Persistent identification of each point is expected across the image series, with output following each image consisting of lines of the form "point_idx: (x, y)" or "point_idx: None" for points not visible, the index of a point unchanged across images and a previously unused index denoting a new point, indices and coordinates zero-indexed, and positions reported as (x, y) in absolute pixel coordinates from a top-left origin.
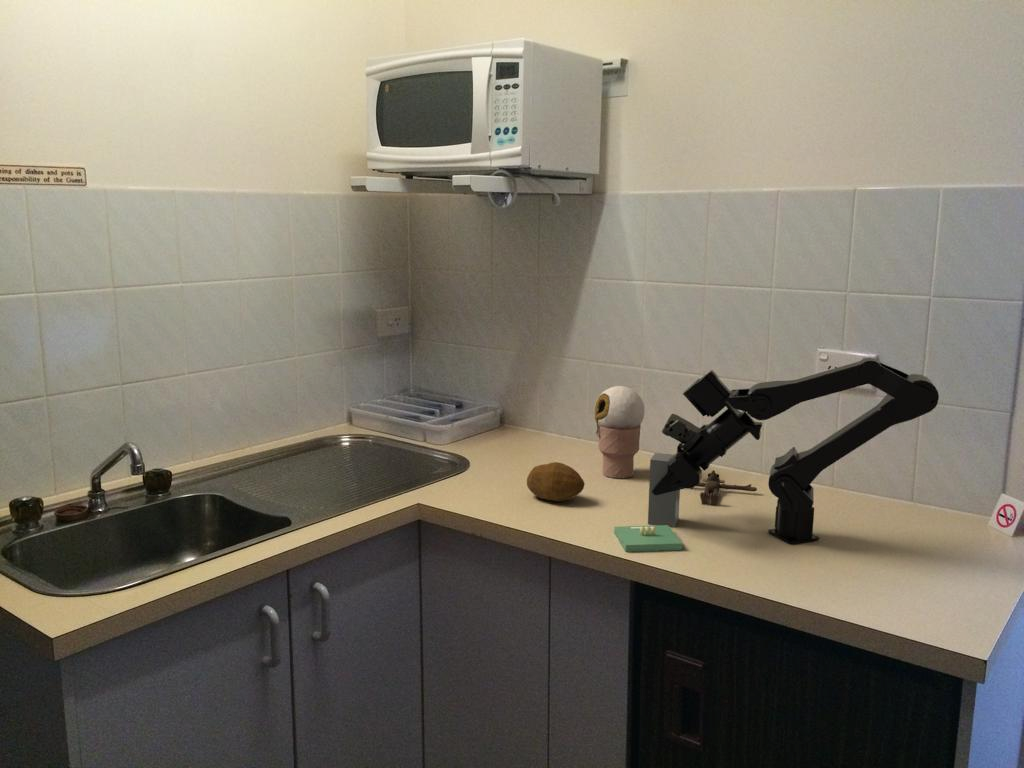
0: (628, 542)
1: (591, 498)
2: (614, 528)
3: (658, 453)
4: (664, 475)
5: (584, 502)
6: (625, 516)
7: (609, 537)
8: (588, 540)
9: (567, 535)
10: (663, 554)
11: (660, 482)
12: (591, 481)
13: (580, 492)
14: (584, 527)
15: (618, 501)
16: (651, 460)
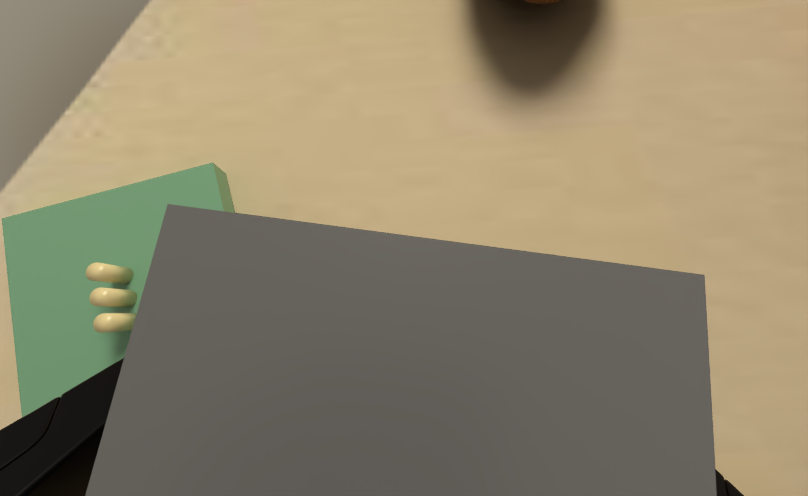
0: (31, 227)
1: (584, 72)
2: (209, 166)
3: (683, 348)
4: (59, 446)
5: (532, 53)
6: (418, 201)
7: (179, 161)
8: (142, 97)
9: (184, 31)
10: (8, 371)
11: (100, 378)
12: (777, 56)
13: (531, 2)
14: (270, 74)
15: (583, 165)
16: (165, 230)
